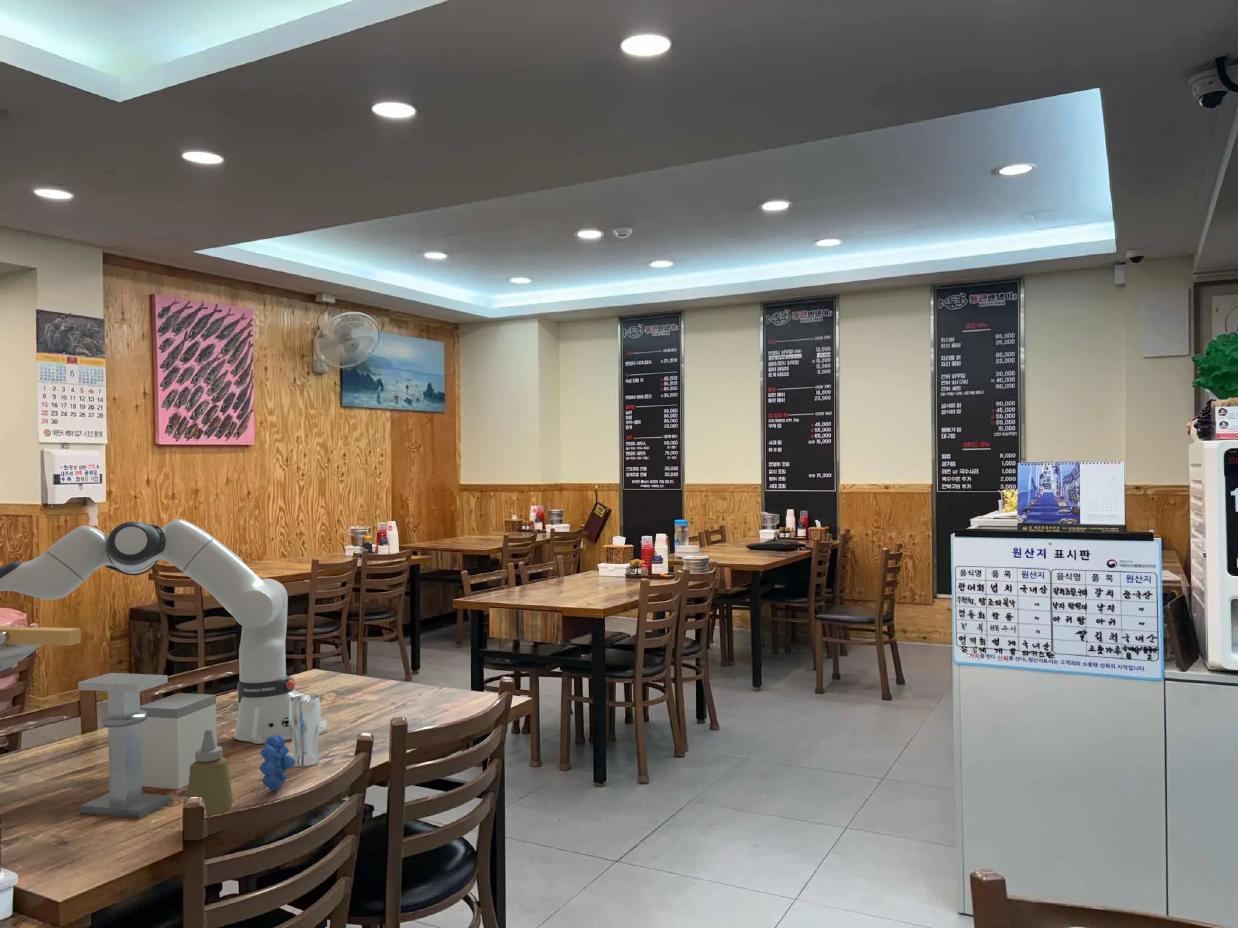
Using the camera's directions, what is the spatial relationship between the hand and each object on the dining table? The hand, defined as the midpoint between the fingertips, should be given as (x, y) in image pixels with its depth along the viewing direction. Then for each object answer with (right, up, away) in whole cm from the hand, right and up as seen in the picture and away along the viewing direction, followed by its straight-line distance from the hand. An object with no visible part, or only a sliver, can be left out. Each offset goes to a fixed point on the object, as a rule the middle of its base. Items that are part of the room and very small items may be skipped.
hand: (15, 633), depth 186 cm
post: (+28, -34, -8) cm, 44 cm away
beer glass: (+55, -33, +17) cm, 67 cm away
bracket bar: (+5, -2, -1) cm, 6 cm away
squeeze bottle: (+49, -33, -18) cm, 62 cm away
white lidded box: (+30, -34, +9) cm, 46 cm away
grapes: (+56, -33, 0) cm, 65 cm away
